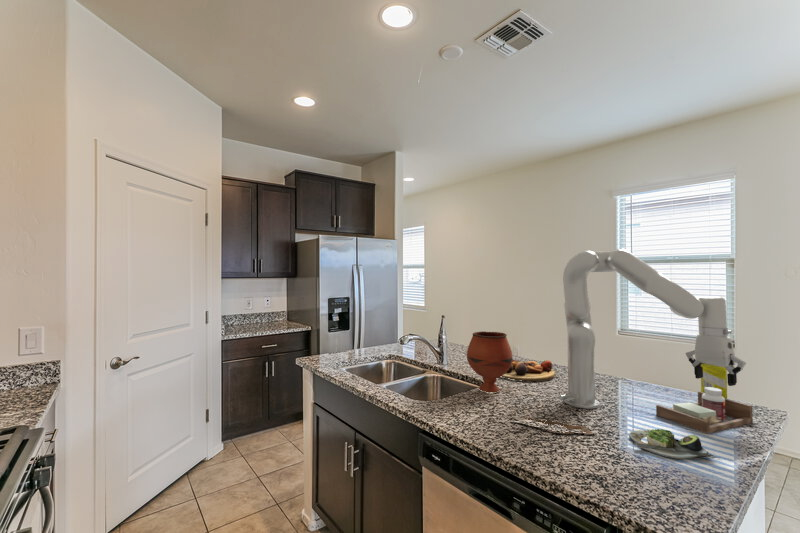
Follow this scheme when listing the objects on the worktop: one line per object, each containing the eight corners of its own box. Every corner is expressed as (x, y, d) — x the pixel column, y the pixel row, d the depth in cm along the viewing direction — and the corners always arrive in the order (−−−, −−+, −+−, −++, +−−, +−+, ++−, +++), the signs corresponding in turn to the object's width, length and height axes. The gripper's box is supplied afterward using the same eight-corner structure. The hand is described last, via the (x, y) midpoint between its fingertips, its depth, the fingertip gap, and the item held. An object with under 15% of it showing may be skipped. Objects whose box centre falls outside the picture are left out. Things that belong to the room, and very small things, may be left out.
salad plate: (657, 466, 97) (657, 448, 97) (612, 436, 115) (612, 421, 115) (723, 462, 99) (723, 445, 99) (668, 433, 116) (668, 419, 117)
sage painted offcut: (699, 418, 117) (699, 413, 117) (673, 408, 125) (673, 404, 125) (716, 415, 119) (716, 411, 119) (689, 406, 127) (689, 402, 127)
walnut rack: (707, 438, 112) (706, 415, 112) (656, 419, 127) (656, 399, 127) (752, 426, 121) (752, 405, 121) (700, 410, 135) (699, 391, 135)
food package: (729, 415, 131) (728, 359, 131) (725, 414, 131) (724, 359, 132) (702, 400, 146) (702, 350, 146) (699, 400, 146) (698, 350, 147)
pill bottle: (729, 425, 122) (728, 392, 122) (706, 423, 124) (705, 390, 124) (720, 418, 127) (719, 387, 128) (698, 416, 130) (698, 385, 130)
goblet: (521, 391, 156) (521, 333, 157) (494, 402, 144) (494, 338, 144) (484, 381, 171) (484, 328, 171) (457, 390, 158) (457, 332, 159)
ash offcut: (705, 423, 116) (704, 418, 116) (670, 413, 125) (670, 408, 125) (716, 418, 120) (716, 414, 120) (682, 409, 129) (682, 404, 129)
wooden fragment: (593, 428, 120) (593, 425, 120) (595, 443, 110) (595, 439, 110) (513, 415, 131) (513, 412, 131) (507, 427, 121) (507, 424, 121)
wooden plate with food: (555, 369, 194) (555, 354, 194) (554, 385, 164) (553, 367, 165) (494, 364, 207) (494, 350, 207) (483, 378, 178) (483, 361, 178)
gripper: (750, 334, 120) (752, 387, 119) (692, 328, 136) (694, 374, 135) (736, 336, 117) (739, 390, 116) (678, 329, 133) (680, 376, 132)
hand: (714, 381), depth 126 cm, fingers open, 9 cm apart
